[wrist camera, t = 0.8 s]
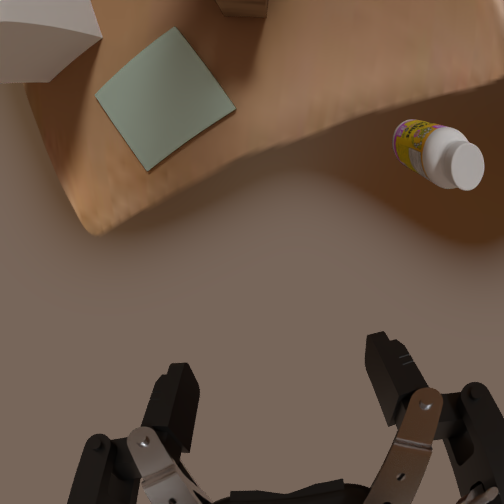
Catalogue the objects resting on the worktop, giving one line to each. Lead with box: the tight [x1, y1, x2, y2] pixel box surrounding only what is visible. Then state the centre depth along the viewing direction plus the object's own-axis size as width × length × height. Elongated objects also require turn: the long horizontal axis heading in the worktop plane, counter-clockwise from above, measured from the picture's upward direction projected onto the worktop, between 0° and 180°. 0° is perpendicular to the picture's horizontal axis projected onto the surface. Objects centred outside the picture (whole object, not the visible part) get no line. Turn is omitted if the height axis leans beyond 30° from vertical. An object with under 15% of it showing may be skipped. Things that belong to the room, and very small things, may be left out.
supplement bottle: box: [392, 120, 484, 190], centre depth 24 cm, size 7×7×13 cm
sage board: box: [95, 26, 236, 171], centre depth 29 cm, size 14×14×1 cm
